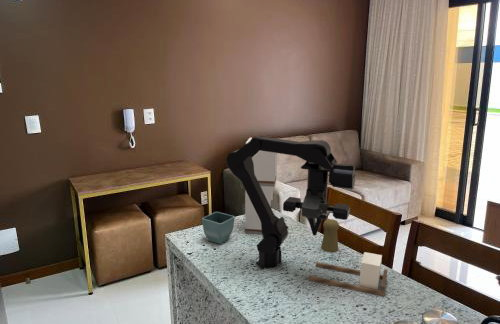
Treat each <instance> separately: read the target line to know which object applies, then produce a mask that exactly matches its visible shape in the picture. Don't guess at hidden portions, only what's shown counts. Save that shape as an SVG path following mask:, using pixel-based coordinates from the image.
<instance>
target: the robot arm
mask: <svg viewBox="0 0 500 324" xmlns="http://www.w3.org/2000/svg"><path fill="white" fill-rule="evenodd" d="M251 138H252V139H251V141H249V142H248V143H247V144H246V143H245V144H244V145H243V146H242V147H240V148H239V149H237V150H234V151H232V152H230V153H229V154H228V155H227V156H226V160H225V163H226V166H227V167H228V169H229V170H230V172H231V173H232V175H233V176H234V177H236V178H237V179H238V180H240V182H241V184H242V186H243V188H244V190H246V192H247V194H248V196H249V198H250V201H251V203H252V205H253V207H254V209H255V211H256V213H257V215H258V217H259V219H260V221H261V229H262V235H261V236H262V238H261V240H260V241H259V242H258V244H256V249H257V251H258V261H256V262H255V265H257V266H258V267H260V268H261V269H262V270H264V269H274V268H278V266H279V264H281V263H282V250H281V248H282V247H281V246H282V245H283V243H284V241H285V240H286V239H287V238H288V236H289V230H288V229H289V226H288V225H287V224H286V222H285V218H284V217H283V216H280V218H279V217H278V216H277V215H276V214H275V213H274V210H273V209H272V206H271V207H270V205H269V203H268V201H267V199H266V197H265V195H264V193H263V190H262V188H261V186H260V184H259V182H258V180H257V178H256V176H255V174H254V163H253V160H252V157H253V156H254V155H255V154H257V153H258V152H259V151H267V152H274V153H277V154H280V155H281V154H282V155H288V156H293V157H298V158H300V159H302V161H305V162H304V164H302V165H301V166H300V169H301V170H307V184H306V185H307V186H306V188H307V189H306V192H305V197H304V198H303V201H302V198H300V197H293V196H289V197H287V199H286V200H284V201H283V204H282V210H283V212H290V213H293V212H294V211H296V209H300V210H301V216H302V217H305V218H306V220H307V222H308V224H309V227H310V230H311V233H312V236H317V234H318V232H319V229H320V227H321V226H322V225H321V224H322V222H323V220H328V217H329V216H330V214H332V217H333V218H334V220H336V219H337V220H342V221H343V220H344V221H345V220H348V217H349V215H350V214H351V207H350V205H349V204H346V203H335V205H334V206H333V205H329V203H328V201H327V199H328V198H327V197H328V183H329V184H330V186H331V187H333V188H338V189H339V188H340V189H348V190H354V188H355V183H356V170H355V164H351V163H350V164H348V163H347V164H346V163H345V164H344V163H338V160H337V159H336V158H335V155H333V153H332V150H331V149H332V148H331V146H330V144H329V142H328V141H326V140H323V139H316V140H315V139H314V140H305V141H295V140H289V139H281V138H277V139H276V138H275V137H274V138H273V137H268V136H263V135H257V136H254V137H251Z"/></svg>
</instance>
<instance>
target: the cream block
mask: <svg viewBox="0 0 500 324" xmlns="http://www.w3.org/2000/svg"><path fill="white" fill-rule="evenodd" d="M382 258H383V254H377V253H371V252H365V251H364V252H363V255H362V258H361V262H360V275H359V285H358V286H362V287H367V288H372V289H377V290H379V286H380V281H381V280H380V274H381V272H382Z"/></svg>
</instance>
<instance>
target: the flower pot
mask: <svg viewBox="0 0 500 324" xmlns="http://www.w3.org/2000/svg"><path fill="white" fill-rule="evenodd" d="M235 219H236V217H235V215H231V214H228V213H224V212H220V211H214V212H213V213H210V214H208V215H206V216H203V217H202V218H201V222H202V229H203V233H204V235H205V237H206V239H207V240H208V241H209V242H212V243H216V244H219V245H220V244H222V243H224V242H226V241H227V240H229V238H230V236H231V235H232V233H233V230H234V225H235Z"/></svg>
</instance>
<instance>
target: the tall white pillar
mask: <svg viewBox="0 0 500 324" xmlns="http://www.w3.org/2000/svg"><path fill="white" fill-rule="evenodd" d="M252 138H253V137H249V138H247V141H246V142H245V145H246V144H247V143H248V142H249V141H251V139H252ZM276 139H278V138H276ZM277 159H278V153H274V152H267V151H259V152H258V153H257V154H255V155H254V156H253V157H252V160H253V163H254V174H255V176H256V178H257V180H258V182H259V184H260V186H261V188H262V190H263V193H264V195H265V197H266V199H267V201H268V203H269V205H270V207H271V208H272V202H273V196H274V194H273V193H274V191H275V189H276V184H277V162H278V160H277ZM244 190H245V189H244ZM244 195H245V199H244V203H245V205H244V208H245V209H244V211H245V213H244V216H245V217H244V223H245V224H244V234H245V235H258V236H259V235H260V236H263V235H262V229H261V221H260V219H259V217H258V215H257V213H256V211H255V209H254V207H253V205H252V203H251V201H250V198H249V196H248V194H247V192H246V190H245V191H244Z"/></svg>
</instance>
